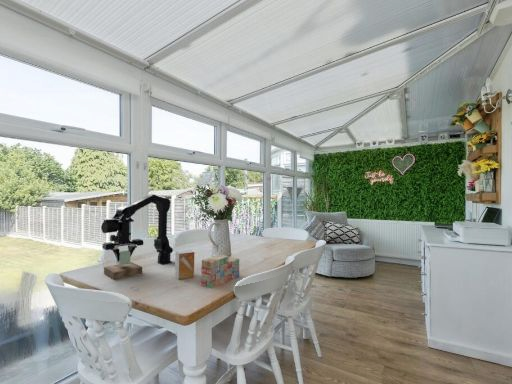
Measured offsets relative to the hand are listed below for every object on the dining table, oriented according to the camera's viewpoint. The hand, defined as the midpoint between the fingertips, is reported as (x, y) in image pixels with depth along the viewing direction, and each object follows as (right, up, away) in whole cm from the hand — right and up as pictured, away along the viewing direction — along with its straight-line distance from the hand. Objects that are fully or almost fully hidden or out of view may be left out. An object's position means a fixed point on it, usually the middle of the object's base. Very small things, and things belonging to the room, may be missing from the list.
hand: (123, 260), depth 137 cm
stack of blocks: (+53, -8, -8) cm, 54 cm away
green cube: (0, -2, 0) cm, 2 cm away
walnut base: (0, -8, 0) cm, 8 cm away
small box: (+33, -8, -3) cm, 34 cm away
